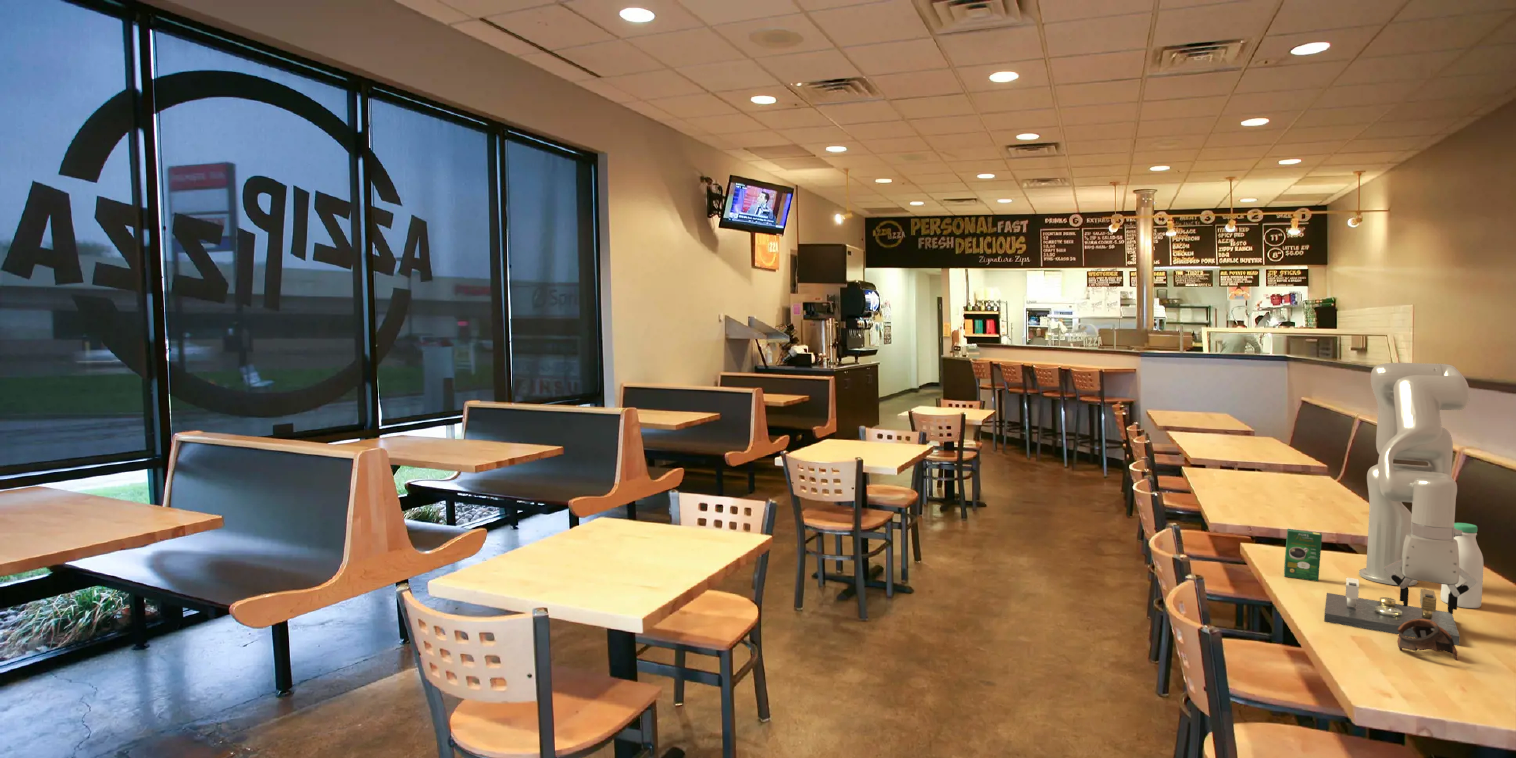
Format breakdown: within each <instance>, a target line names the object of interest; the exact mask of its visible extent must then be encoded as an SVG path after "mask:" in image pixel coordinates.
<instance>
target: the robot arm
mask: <svg viewBox="0 0 1516 758" xmlns="http://www.w3.org/2000/svg"><path fill="white" fill-rule="evenodd" d="M1370 387H1371V389H1372V393H1373V395H1374V398H1375V400H1376V404H1377V421H1376V437H1375V447H1376V451H1377V454H1378V455H1379V456H1378V460H1377V463H1376V464H1375V465H1373V466H1370V468H1369V469H1368V471H1367V474H1366V483H1367V490H1368V491H1367V492H1368V500H1369V503H1368V504H1369V506H1368V507H1369V509H1368V511H1369V512H1368V530H1367V531H1368V532H1367V546H1366V547H1367V548H1366V549H1367V551H1366V566H1365V568H1361V569H1359V572H1358V575H1359V576H1360V577H1362V578H1363V579H1366V580H1368V581H1372V582H1375V583H1381V584H1386V585H1392V586H1398V587H1399V601H1400V602H1402V605H1404V606H1406V607H1407V606H1409V595H1410V594H1409V593H1410V592H1409V587H1410V586H1416V585H1417V584H1418V582H1419V581H1420V582H1425V583H1430V584H1431V583H1432V584H1439V585H1441V584H1445V585H1447V586H1448V588H1449V589H1450V594H1448V604H1447V612H1449V613H1450V614H1452V615H1454V610H1456V611H1457V609H1458V606H1457V600H1458V597H1459V596H1460V595H1461V594H1463V593H1464V592H1466V591H1468V590H1469V589H1470V588H1471V587H1473V586H1474V585H1475V584H1477V580H1476V579H1475V578H1473V577H1472V576H1471V575H1469V574H1468V573H1467V572H1465V571H1464V570H1463V569H1461V568H1460V567H1459V549H1458V543H1457V540H1455V539H1454V537H1455V536H1462V530H1458V529H1456V528H1454V523H1455V519H1456V502H1457V500H1456V499H1457V494H1458V485H1457V482H1456V481H1455V480H1454V479H1453V477H1452V468H1453V453H1454V443H1453V437H1452V435H1451V433H1450V432H1449V430H1448V429H1447V428H1445V427H1443V426H1442V420H1441V419H1442V417H1441V411H1463V410H1464V409H1466V408H1467V407H1468V405H1469V402H1470V398H1471V391H1470V386H1469V384H1468V381H1467V379H1466V378H1465V377H1464V375H1463V374H1462V373H1461V372H1460V371H1459V370H1458V368H1457V367H1455V366H1454V365H1452V364H1447V363H1428V362H1427V363H1421V362H1420V363H1419V362H1386V363H1385V362H1384V363H1380V364H1377V365H1375V366H1374V367H1373V368H1372V369H1371V373H1370ZM1440 410H1441V411H1440ZM1394 460H1397V461H1398V460H1400V461H1412V462H1413V461H1416V462H1426V463H1427V465H1416V464H1405V463H1404V464H1403V463H1394ZM1403 503H1411V505H1412V506H1411V511H1410V509H1408V508H1407V507H1406V505H1404V504H1403ZM1459 575H1460V576H1461V577H1463V578H1464V579H1465V580H1466V582H1465V583H1464V584H1462V585H1460V586H1458V587H1457V588H1456V586H1455V584H1457V583H1458V582H1459ZM1408 586H1409V587H1408Z"/></svg>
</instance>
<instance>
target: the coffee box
mask: <svg viewBox="0 0 1516 758" xmlns="http://www.w3.org/2000/svg"><path fill="white" fill-rule="evenodd" d="M1285 541H1286V542H1285V543H1286V544H1285V555H1284V570H1283V574H1284V575H1283V576H1284V577H1285V578H1286V577H1287V578H1291V579H1299V580H1306V581H1313V582H1319V580H1320V576H1319V575H1320V561H1321V553H1322V541H1323V535H1322V533H1321V532H1316V531H1308V530H1299V529H1292V528H1287V529H1286V540H1285Z"/></svg>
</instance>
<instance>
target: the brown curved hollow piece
mask: <svg viewBox="0 0 1516 758" xmlns="http://www.w3.org/2000/svg"><path fill="white" fill-rule="evenodd" d="M1412 627H1413V628H1412ZM1409 628H1412V630H1413V631H1414V633H1415V634H1416V636H1417V638H1414V637H1409V636H1405V635H1403V633H1404V632H1405V631H1406V630H1407V629H1409ZM1431 628H1433V629H1435V630H1434V631H1433V630H1431ZM1398 631H1399V635H1397V636H1398V637H1397V641H1396V642H1397V646H1398V649H1399V651H1400V652H1402V651H1403V649H1404V650H1409V651H1413V652H1415V651H1416V652H1417V651H1425V650H1426V651H1427V650H1432V651H1434V652H1444V653H1445V652H1446V653H1449V654H1451V655H1453V657H1454V660H1455V661H1459V657H1458V650H1457V648H1456V645H1454V642H1453V639H1452V637H1451V635H1450V634H1449V633H1448V632H1447V631H1446V630H1444V629H1443V628H1441V627H1439V626H1438V625H1437V624H1436V623H1435V622H1433V621H1431V620H1428V619H1423V618H1420V619H1414V620H1410V621H1407V622H1405V623H1403V624H1402V625H1401V626H1400V627H1399V628H1398Z"/></svg>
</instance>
